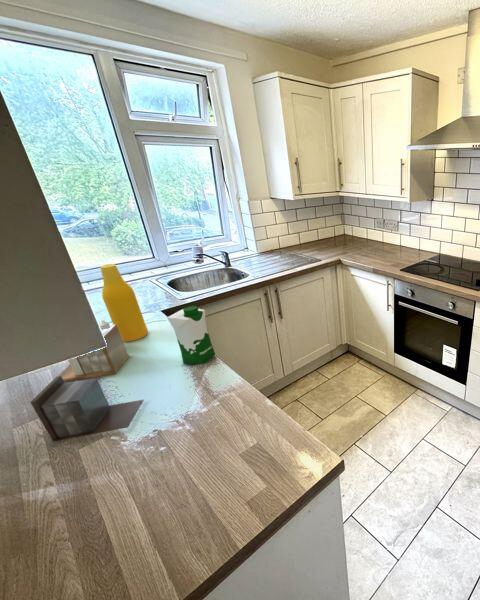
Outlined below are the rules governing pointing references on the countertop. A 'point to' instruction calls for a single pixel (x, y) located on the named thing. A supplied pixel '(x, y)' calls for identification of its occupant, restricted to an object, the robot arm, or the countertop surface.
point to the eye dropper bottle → (104, 325)
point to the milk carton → (192, 335)
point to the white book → (76, 366)
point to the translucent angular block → (101, 358)
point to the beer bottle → (122, 305)
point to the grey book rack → (80, 409)
